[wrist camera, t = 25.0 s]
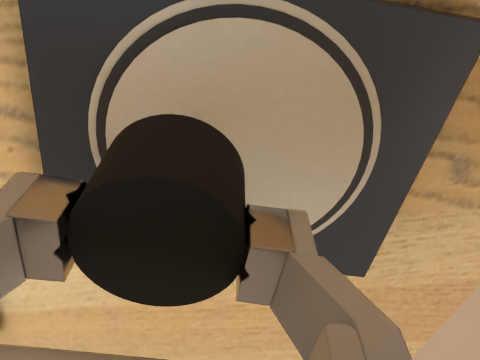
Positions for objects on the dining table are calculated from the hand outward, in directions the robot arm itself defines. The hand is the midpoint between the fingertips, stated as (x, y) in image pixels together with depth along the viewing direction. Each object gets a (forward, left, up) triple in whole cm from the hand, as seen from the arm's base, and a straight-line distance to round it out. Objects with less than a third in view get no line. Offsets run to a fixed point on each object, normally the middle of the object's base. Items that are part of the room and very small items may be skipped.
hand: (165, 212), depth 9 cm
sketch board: (-2, +3, -11) cm, 11 cm away
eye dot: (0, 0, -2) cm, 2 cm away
